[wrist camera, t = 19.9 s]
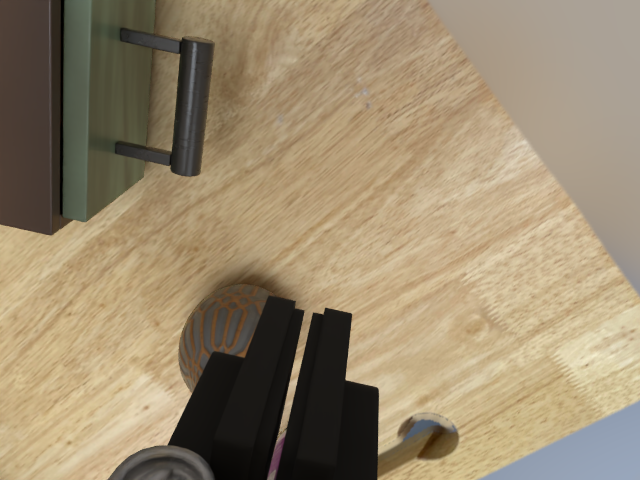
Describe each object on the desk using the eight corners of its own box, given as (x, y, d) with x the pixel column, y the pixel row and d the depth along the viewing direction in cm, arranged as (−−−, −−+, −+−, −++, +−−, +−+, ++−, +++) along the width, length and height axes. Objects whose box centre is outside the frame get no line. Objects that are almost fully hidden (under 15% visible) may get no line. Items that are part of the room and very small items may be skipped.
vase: (267, 250, 36) (233, 325, 28) (322, 335, 38) (305, 426, 30) (180, 295, 38) (125, 376, 30) (237, 372, 40) (200, 467, 32)
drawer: (241, -14, 29) (199, -15, 23) (215, 193, 34) (174, 242, 28) (-96, -86, 30) (-235, -107, 23) (-76, 129, 34) (-187, 163, 28)
